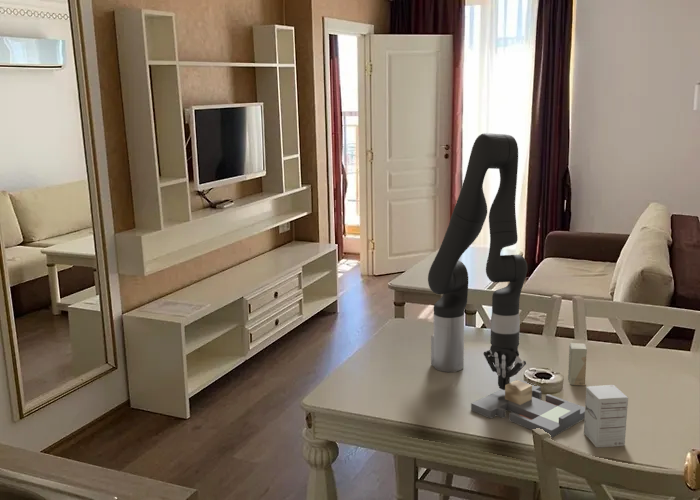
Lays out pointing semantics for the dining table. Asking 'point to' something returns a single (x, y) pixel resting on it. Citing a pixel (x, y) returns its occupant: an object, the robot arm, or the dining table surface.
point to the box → (577, 364)
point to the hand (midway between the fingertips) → (503, 388)
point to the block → (518, 392)
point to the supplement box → (605, 415)
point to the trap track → (532, 411)
